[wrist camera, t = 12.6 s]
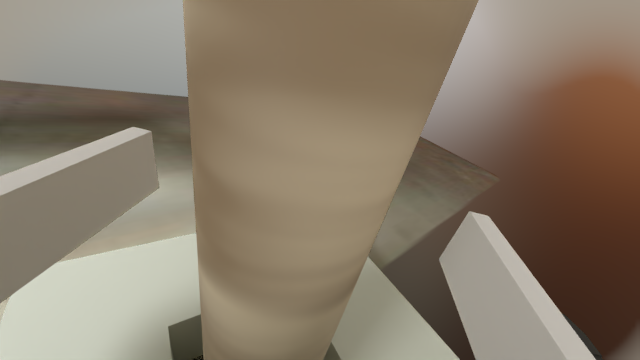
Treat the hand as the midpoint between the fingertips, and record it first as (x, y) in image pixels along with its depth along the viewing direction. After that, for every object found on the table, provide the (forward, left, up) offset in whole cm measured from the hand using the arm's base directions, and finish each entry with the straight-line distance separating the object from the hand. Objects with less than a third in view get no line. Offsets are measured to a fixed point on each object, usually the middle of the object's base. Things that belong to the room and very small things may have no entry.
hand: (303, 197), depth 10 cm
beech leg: (+3, -2, -11) cm, 11 cm away
